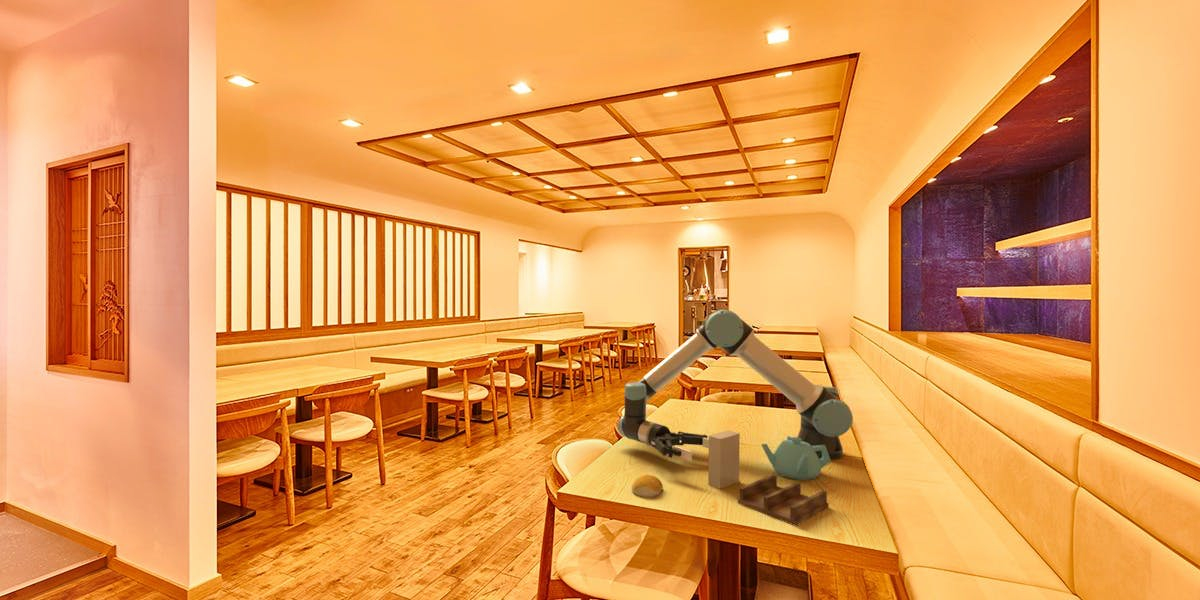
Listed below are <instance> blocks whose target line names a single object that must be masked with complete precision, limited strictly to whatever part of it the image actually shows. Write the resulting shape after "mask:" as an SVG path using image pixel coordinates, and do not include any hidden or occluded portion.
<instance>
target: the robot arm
mask: <svg viewBox="0 0 1200 600" xmlns="http://www.w3.org/2000/svg"><path fill="white" fill-rule="evenodd" d="M718 347H719V348H720V349H721V350H722V351H724V352H725V353H726V354H727V355H728V356H730V357H731V356H732V357H734V356H735V357H738V358H739V359H740V360H741V361H743V362H744V363H745V364H746V365H748V366H749V367H750V368H751V369H752V370H754V371H755V372H756V373H757V374H759V375H760V376H761V377H762V378H763V379H764V380H766V381H767V382H768V383H769V384H771V386H773V387H774V388H776V389H777V390H778V392H780V393H782V394H783V396H785V397H786V398H787V399H788V400H789V401H791V402H792V403H793V404H795V407H796V408H795V409H796V412H797V413H798V414H799V415H800V429H799V431H798V435H797V437H798V438H801V441H803V442H807V443H809V444H810V445H811V446H816V445H825V446H826V449H827V452H828V454H829V457H830V460H837V459H838V458H839V459H841V458H843V457H844V448H843V445H842V441H841V439H840V436H843V435H845V434H846V433H847V432H848V431H849V430H850V428H851V426H852V424H853V417H854V416H853V413H852V410H851V409H850V407H849V405H848V404H847V403H846V402H845V401H842V400H841V399H839V390H838V388H837V387H834V386H825V385H822V384H814V383H812V382H811V381H810V380H809V379H807V378H806V377H805V376H804V375H803V374H802V373H800V372H799V371H797V369H795V368H794V367H793V366H792V365H791V364H789V363H788V362H787V361H785V360H784V358H782V357H781V356H780V355H779V354H777V353H776V352H775V351H773V350H772V349H771V348H770V347H768V345H767V344H765V343H763V341H761V340H760V339H759V338H757V336H755V330H754V328H753V327H752V326H751V325H749V324H748V323H747V322H745V321H744V320H743V319H742V318H741V317H740V316H739V315H738V314H737V313H736V312H734V311H732V310H729V309H727V308H726V309H725V308H721V309H716V310H714V311H712V312H711V313H709V315H708V317H707V318H706V319H705V320H704V321H703V322H702V323H701V325H700V326H698V327H697V328H696V330H695V334H693V335H692V336H691V337H689V338H688V339H687V340H685V341H684V343H682V344H681V345H680V346H679V347H678V348H676V349H675V350H674V351H673V352H672V353H671V354H669V355H668V356H667V357H666V358H664V359H663V360H662V361H661V362H660V363H659V364H657V365H656V366H654V368H653V369H651V370H650V371H649V372H647V374H645V375H644V376H643V377H641V378H640V379H639V380H638V381H636V382H634V381H632V382H627V383H626V384H625V386H624V392H623V395H624V414H623V416H621V417H620V418H619V421H618V423H617V430H618V433H619V434H620V435H621V436H623V437H625V438H627V439H628V440H633V441H635V442H639V443H641V444H644V445H647V447H652V448H654V449H656V450H657V451H658V452H659V454H661V455H662V456H664V457H665V456H667V457H668V458H670V459H671V458H673V456H675V457H677V458H680V459H683V460H686V461H689V462H691V461H693V458H692V457H693V452H692V450H689V449H686V448H683V447H680V446H684V445H693V446H702V447H703V448H707V449H709V435H707V434H698V433H689V432H683V431H677V433H676V432H673V431H671V430H670V429H669V427H667V426H666V425H663V424H658V423H657V422H653V421H650V420H646V419H647V402H648V401H649V400H650V399H651V398H652V397H654V396H655V395H657V393H658V392H659V391H660V390H662V389H663V388H664V387H666V385H668V384H669V383H671V382H672V381H673V380H674V379H675V378H676V377H678V376H679V375H680V374H681V373H683V372H684V371H685V370H686V369H688V368H689V367H690V366H691V365H692V364H694V362H696V361H697V360H699V359H700V358H701V357H703V356H704V355H705V354H706V353H707V352H709V351H710V350H716V349H717V348H718ZM815 452H816V454H817V456H818V458H819V459H821V458H822V457H823V456H822V452H821V450H820V451H815ZM842 456H843V457H842Z"/></svg>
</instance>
